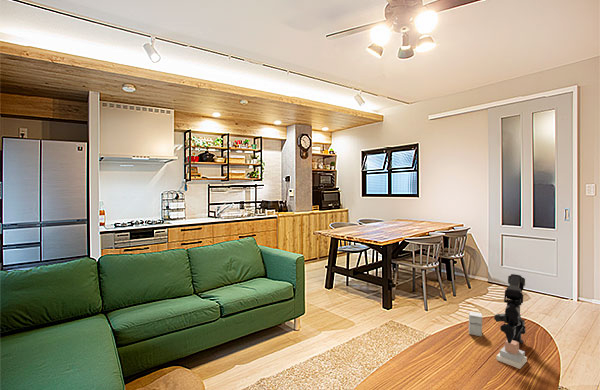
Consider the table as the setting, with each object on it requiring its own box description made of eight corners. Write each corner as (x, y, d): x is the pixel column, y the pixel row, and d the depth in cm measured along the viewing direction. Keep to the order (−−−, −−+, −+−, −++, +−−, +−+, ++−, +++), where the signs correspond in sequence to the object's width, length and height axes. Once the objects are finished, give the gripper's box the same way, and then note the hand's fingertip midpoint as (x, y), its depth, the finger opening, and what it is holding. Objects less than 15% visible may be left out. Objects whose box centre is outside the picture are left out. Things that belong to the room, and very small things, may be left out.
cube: (508, 347, 175) (508, 338, 175) (518, 351, 171) (519, 342, 171) (504, 350, 172) (505, 341, 172) (515, 354, 168) (515, 345, 168)
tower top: (505, 350, 178) (505, 344, 178) (524, 357, 171) (524, 351, 171) (499, 355, 172) (499, 350, 172) (519, 363, 165) (519, 357, 165)
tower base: (503, 354, 180) (504, 348, 180) (526, 362, 171) (526, 357, 171) (496, 360, 173) (496, 355, 173) (519, 370, 164) (520, 364, 164)
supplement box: (468, 334, 202) (469, 314, 201) (468, 329, 208) (469, 310, 208) (482, 337, 198) (482, 317, 198) (481, 332, 205) (481, 312, 204)
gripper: (502, 303, 183) (501, 330, 183) (489, 311, 171) (489, 340, 172) (525, 309, 174) (524, 337, 175) (513, 318, 162) (512, 348, 163)
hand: (512, 340), depth 171 cm, fingers open, 9 cm apart
